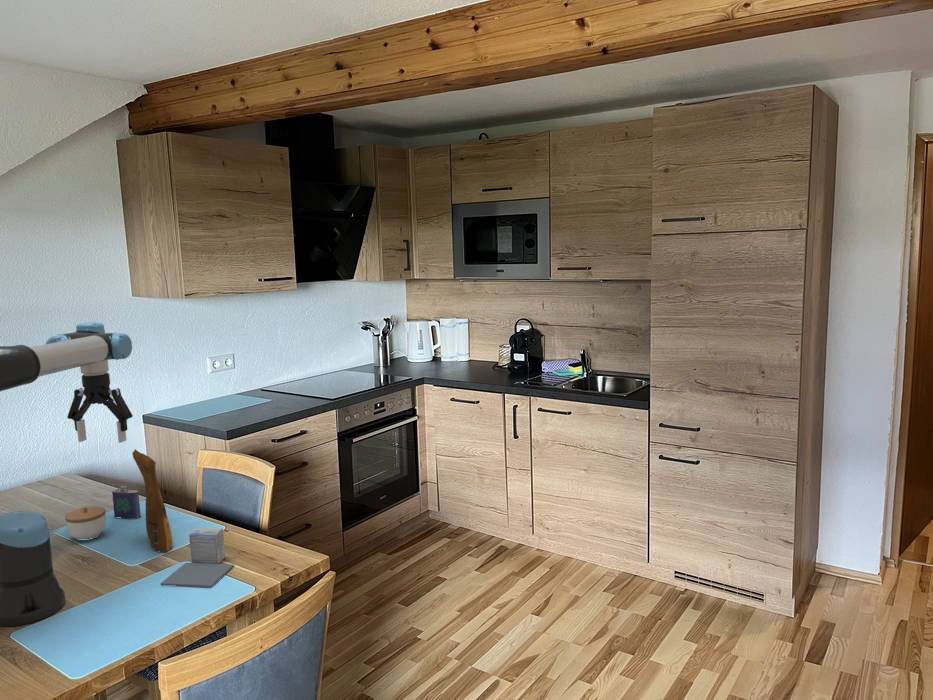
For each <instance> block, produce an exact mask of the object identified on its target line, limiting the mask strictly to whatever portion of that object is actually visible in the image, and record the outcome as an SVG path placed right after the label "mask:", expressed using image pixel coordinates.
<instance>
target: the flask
mask: <svg viewBox="0 0 933 700" xmlns="http://www.w3.org/2000/svg"><path fill="white" fill-rule="evenodd" d="M127 487H128V485H126V484H125V485H121V486H120V488H116V489H113V490H112V492H111V494H112V502H113V503H112V505H113V515H114V517H113V518H115V517H121V518H124V519H125V518H135V519H138V518H137V517H140V516H142V515H141V514H142V513H141V506H140V496H139V495H140V493H139V490H135V489H134V490H131V489H130V490H129V489H128V488H127ZM140 518H141V517H140Z"/></svg>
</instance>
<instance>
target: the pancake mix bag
mask: <svg viewBox="0 0 933 700" xmlns="http://www.w3.org/2000/svg"><path fill="white" fill-rule="evenodd" d="M132 458H133V460H134V461H135V463H136V465H137V467H138V469H139V472H140V474H141V476H142V479H143V482H144V486H145V527H146V530H145V532H146V534H147V538H148V540H149V542H150V544H151V546H152V547H153V549H155V550H154V552H156V551H160V552H159V553H168V551H169V550H171V549H172V548H173V536H172V531H171V528H170V527H171V526H170V523H169V518H168V514H167V509H166V506H165V503H164V500H163V496H162V493H161V490H160V486H159V482H158V476H157V465H156V462H155V460H154V459H153V458H151V457H150V456H148V455H147V454H145V453H141V452H140V451H138V450H137V449H136V448H135V449H134V450H133V451H132ZM170 548H171V549H170ZM168 549H169V550H168Z"/></svg>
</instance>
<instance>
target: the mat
mask: <svg viewBox="0 0 933 700" xmlns="http://www.w3.org/2000/svg"><path fill="white" fill-rule="evenodd" d="M234 567H235V564H231V563H230V564H228V563H219V564H218V563H192V562H187V561H186V562H184V563H183V564H182V565H181V566H179V568H177V569H176V570H175V571H174V572H172V573H171V574H170V575H168V576H167V577H166V578H165V579H163V580H162V581H161V582H160V586H163V585H176V586H175V587H183V586H187V588H203V587H212V586H213V585H214V584H215V583H216V582H217V581H218V580H219V579H220V578H221V579H222V578H224V577H223V576H224V575H225V576H226V575H227V574H228V573H229V572H230V571H231V570H232V569H233V568H234ZM221 579H220V580H221ZM220 580H219V581H220ZM219 581H218V582H219ZM218 582H217V583H218ZM217 583H216V584H217ZM216 584H215V585H216ZM215 585H214V586H215ZM214 586H213V587H214ZM213 587H212V588H213Z"/></svg>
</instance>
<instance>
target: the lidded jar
mask: <svg viewBox="0 0 933 700" xmlns="http://www.w3.org/2000/svg"><path fill="white" fill-rule="evenodd" d="M106 510H107V509H106V508H105V507H102V506H84V507H82V508H77V509H75V510H72V511H70V512H68V513H67V514H66V515H65V521H66V529H67V531H68V533H69V534H70V535H71V536H72V537H73V538H74V539H76V540H77V539H90V538H94V537H96V536H98V535H99V534H101V533H102V532H103V531H104V530H105V526H106V522H107V517H106ZM99 536H100V535H99ZM99 536H98V537H99Z"/></svg>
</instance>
